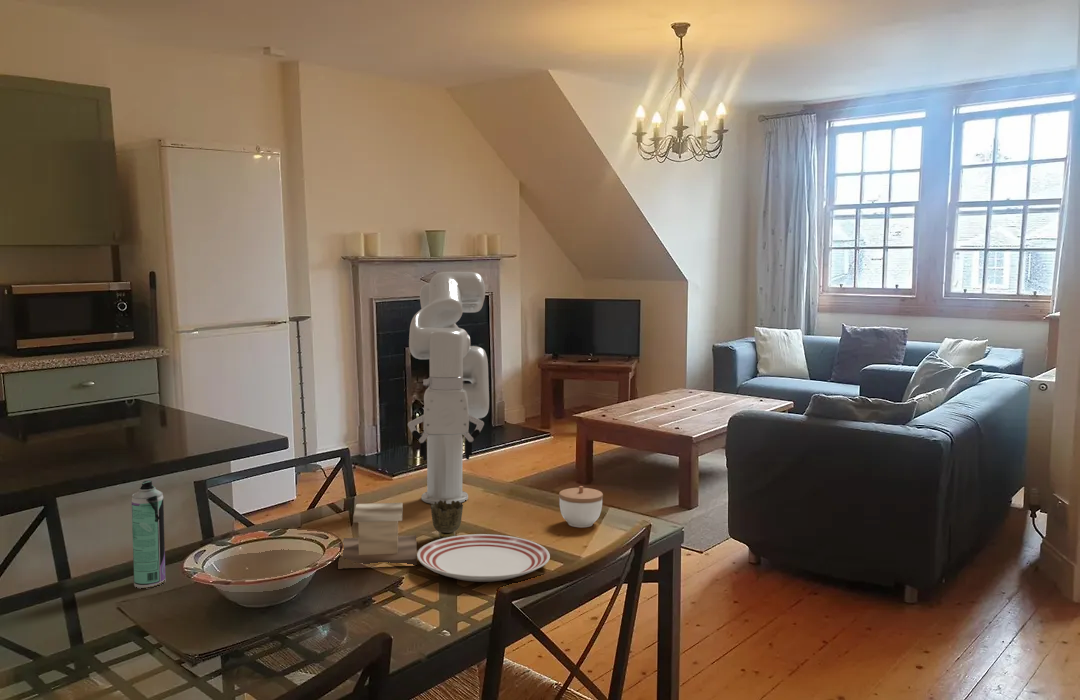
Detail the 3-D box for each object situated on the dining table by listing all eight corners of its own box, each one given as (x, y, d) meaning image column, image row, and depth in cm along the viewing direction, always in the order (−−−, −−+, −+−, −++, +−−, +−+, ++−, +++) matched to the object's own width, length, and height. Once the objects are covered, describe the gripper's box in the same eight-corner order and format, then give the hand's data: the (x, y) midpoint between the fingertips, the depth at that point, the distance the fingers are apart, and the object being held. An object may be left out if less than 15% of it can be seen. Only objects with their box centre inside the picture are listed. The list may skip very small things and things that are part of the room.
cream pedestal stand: (343, 544, 179) (343, 500, 178) (416, 541, 181) (416, 498, 181) (337, 569, 163) (337, 521, 162) (416, 566, 166) (416, 518, 165)
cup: (465, 533, 188) (465, 500, 187) (459, 543, 180) (459, 508, 180) (434, 532, 189) (434, 499, 188) (427, 542, 181) (427, 507, 181)
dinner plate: (490, 538, 185) (490, 523, 185) (577, 568, 166) (577, 552, 166) (390, 566, 166) (390, 550, 166) (475, 604, 147) (475, 586, 147)
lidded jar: (611, 523, 197) (611, 486, 197) (584, 533, 189) (585, 494, 188) (576, 515, 204) (577, 479, 203) (549, 524, 196) (550, 486, 195)
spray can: (171, 580, 156) (169, 479, 155) (149, 590, 151) (147, 486, 150) (149, 576, 158) (147, 477, 156) (127, 586, 153) (124, 483, 151)
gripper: (407, 386, 177) (407, 463, 178) (485, 385, 179) (485, 461, 181) (407, 382, 184) (407, 456, 185) (482, 382, 187) (482, 454, 188)
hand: (446, 458), depth 183 cm, fingers open, 9 cm apart
